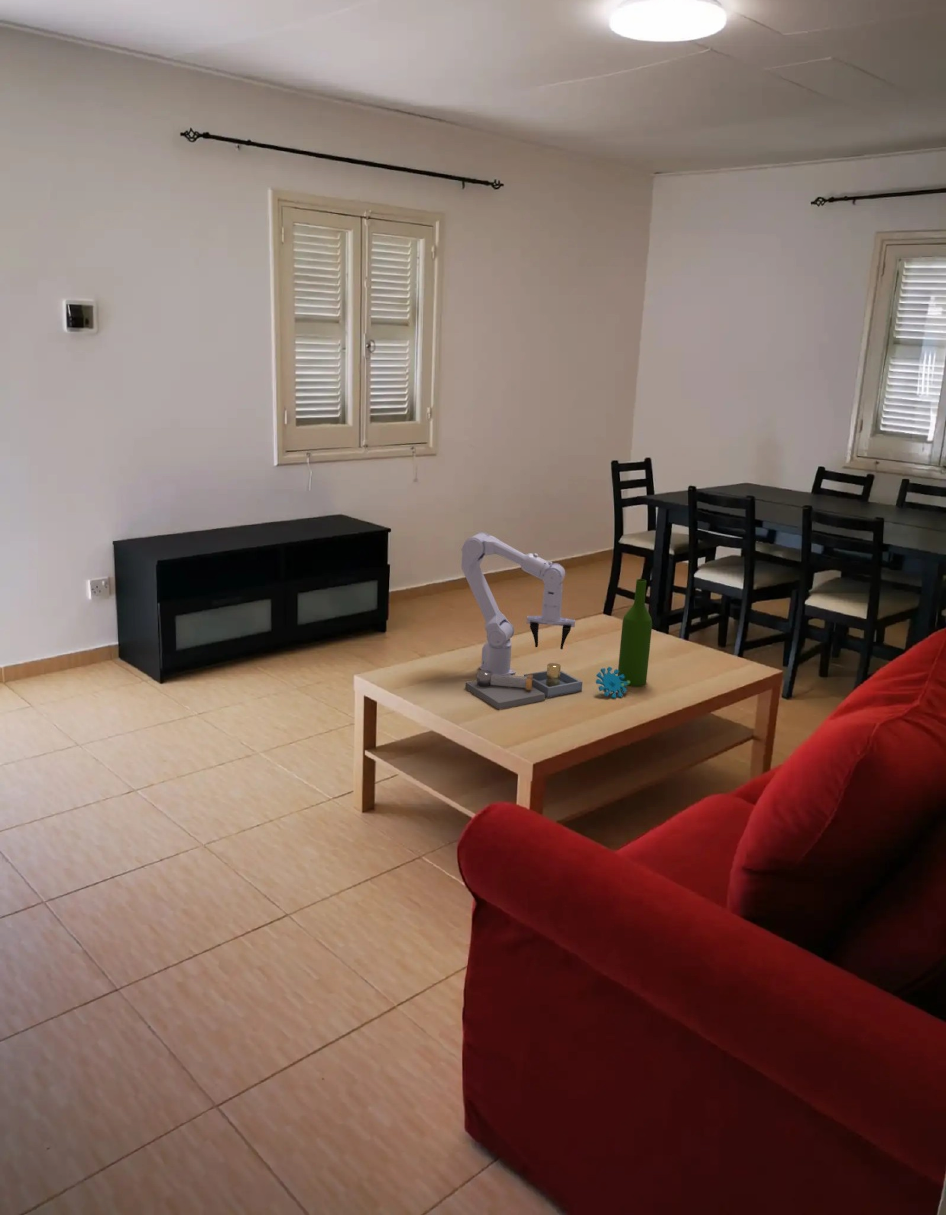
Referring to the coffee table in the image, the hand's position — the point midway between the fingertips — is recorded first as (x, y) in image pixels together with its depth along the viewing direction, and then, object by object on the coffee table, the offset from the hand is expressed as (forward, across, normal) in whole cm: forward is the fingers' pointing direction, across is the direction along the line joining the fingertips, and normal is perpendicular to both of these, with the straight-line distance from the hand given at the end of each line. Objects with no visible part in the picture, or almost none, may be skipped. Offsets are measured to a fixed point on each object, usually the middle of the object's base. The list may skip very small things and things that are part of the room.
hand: (549, 647), depth 288 cm
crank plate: (+10, -11, -16) cm, 22 cm away
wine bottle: (+11, +26, +5) cm, 28 cm away
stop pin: (+10, +2, -7) cm, 12 cm away
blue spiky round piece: (+11, +20, -8) cm, 24 cm away
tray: (+10, +2, -7) cm, 13 cm away
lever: (+8, -12, -15) cm, 20 cm away
